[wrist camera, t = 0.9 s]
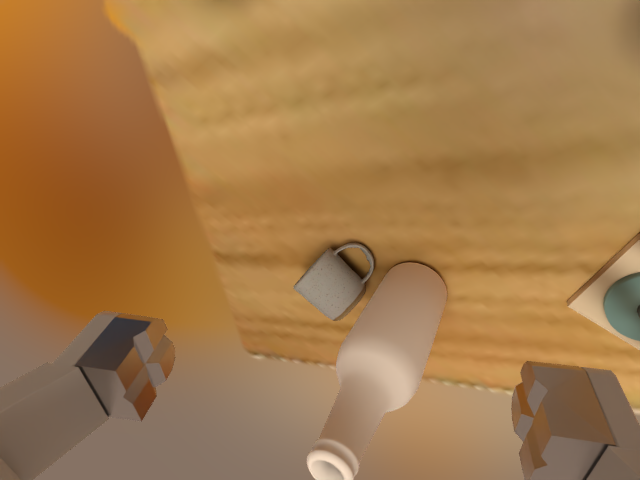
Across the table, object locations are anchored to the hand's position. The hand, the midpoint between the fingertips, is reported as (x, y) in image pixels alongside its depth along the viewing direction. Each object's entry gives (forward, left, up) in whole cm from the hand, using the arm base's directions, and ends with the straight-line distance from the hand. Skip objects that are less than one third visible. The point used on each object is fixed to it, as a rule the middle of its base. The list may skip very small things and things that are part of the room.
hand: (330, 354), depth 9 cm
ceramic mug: (+27, -5, -43) cm, 51 cm away
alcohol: (+24, +5, -43) cm, 49 cm away
